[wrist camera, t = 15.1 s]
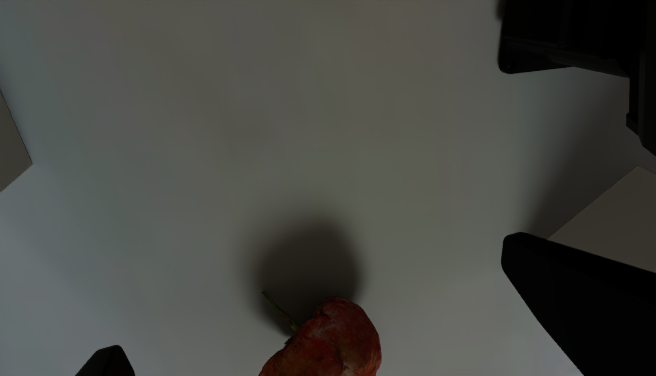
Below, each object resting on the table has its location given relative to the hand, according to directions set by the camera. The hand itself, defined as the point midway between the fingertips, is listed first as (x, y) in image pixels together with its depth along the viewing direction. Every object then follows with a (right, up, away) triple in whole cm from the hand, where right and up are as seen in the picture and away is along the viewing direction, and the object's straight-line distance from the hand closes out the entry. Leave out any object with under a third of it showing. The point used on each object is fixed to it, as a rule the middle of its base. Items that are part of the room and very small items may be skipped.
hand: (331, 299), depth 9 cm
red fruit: (-1, -6, +18) cm, 19 cm away
